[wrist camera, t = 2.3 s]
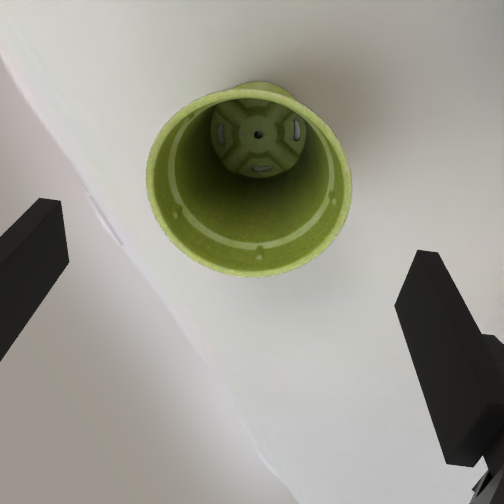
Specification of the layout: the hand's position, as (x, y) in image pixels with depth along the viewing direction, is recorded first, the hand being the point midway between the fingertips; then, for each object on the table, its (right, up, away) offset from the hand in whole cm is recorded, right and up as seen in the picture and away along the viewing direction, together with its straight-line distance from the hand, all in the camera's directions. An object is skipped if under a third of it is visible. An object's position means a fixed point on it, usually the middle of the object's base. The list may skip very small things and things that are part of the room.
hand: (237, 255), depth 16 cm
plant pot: (+1, +8, +11) cm, 13 cm away
